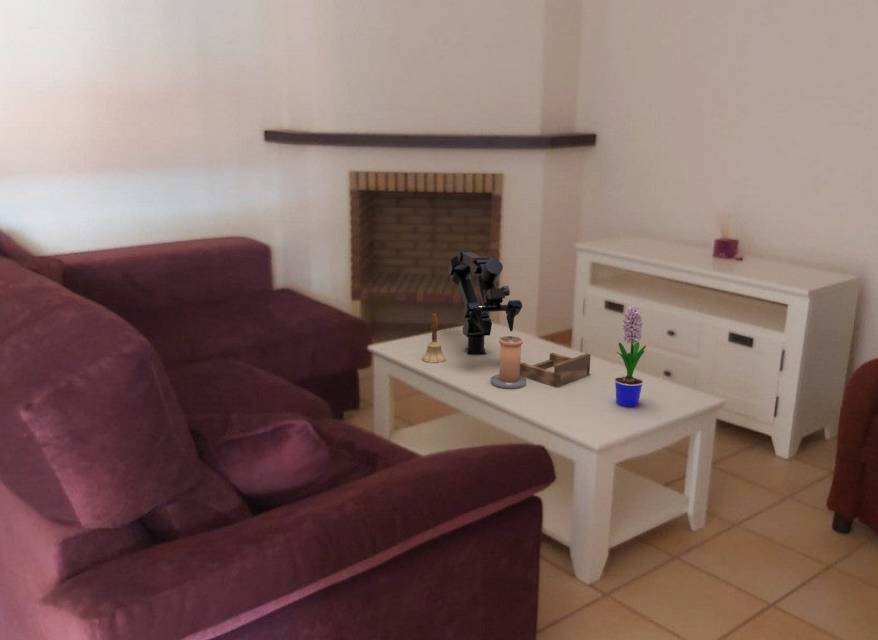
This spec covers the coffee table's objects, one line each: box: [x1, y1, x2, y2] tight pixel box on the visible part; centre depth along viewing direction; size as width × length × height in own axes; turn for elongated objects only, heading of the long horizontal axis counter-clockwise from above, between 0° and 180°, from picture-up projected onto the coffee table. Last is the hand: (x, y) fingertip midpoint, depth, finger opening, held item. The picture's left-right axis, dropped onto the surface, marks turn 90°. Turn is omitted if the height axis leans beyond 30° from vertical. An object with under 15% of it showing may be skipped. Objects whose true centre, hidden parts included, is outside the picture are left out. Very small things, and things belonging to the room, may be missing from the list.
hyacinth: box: [614, 305, 647, 408], centre depth 247 cm, size 9×10×30 cm
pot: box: [498, 335, 524, 383], centre depth 264 cm, size 7×7×13 cm
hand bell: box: [421, 313, 447, 364], centre depth 286 cm, size 8×8×16 cm
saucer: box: [490, 374, 527, 390], centre depth 266 cm, size 11×11×1 cm
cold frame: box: [520, 352, 591, 388], centre depth 273 cm, size 15×17×7 cm
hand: (498, 331), depth 273 cm, fingers open, 9 cm apart
